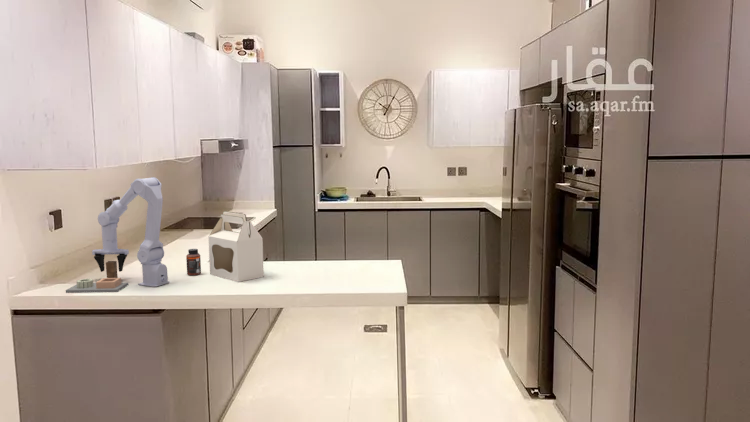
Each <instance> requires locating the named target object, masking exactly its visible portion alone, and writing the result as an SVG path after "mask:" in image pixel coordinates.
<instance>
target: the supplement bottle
mask: <svg viewBox="0 0 750 422" xmlns="http://www.w3.org/2000/svg"><path fill="white" fill-rule="evenodd" d="M187 251H188V253H187V255H186V256H185V257H186V259H185V261H186V274H187V275H188V276H193V277H194V276H198V275H201V274H202V267H201V265H202V264H201V254H200V253H199V252H198V251H199V250H198V248H190V249H188V250H187Z"/></svg>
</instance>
